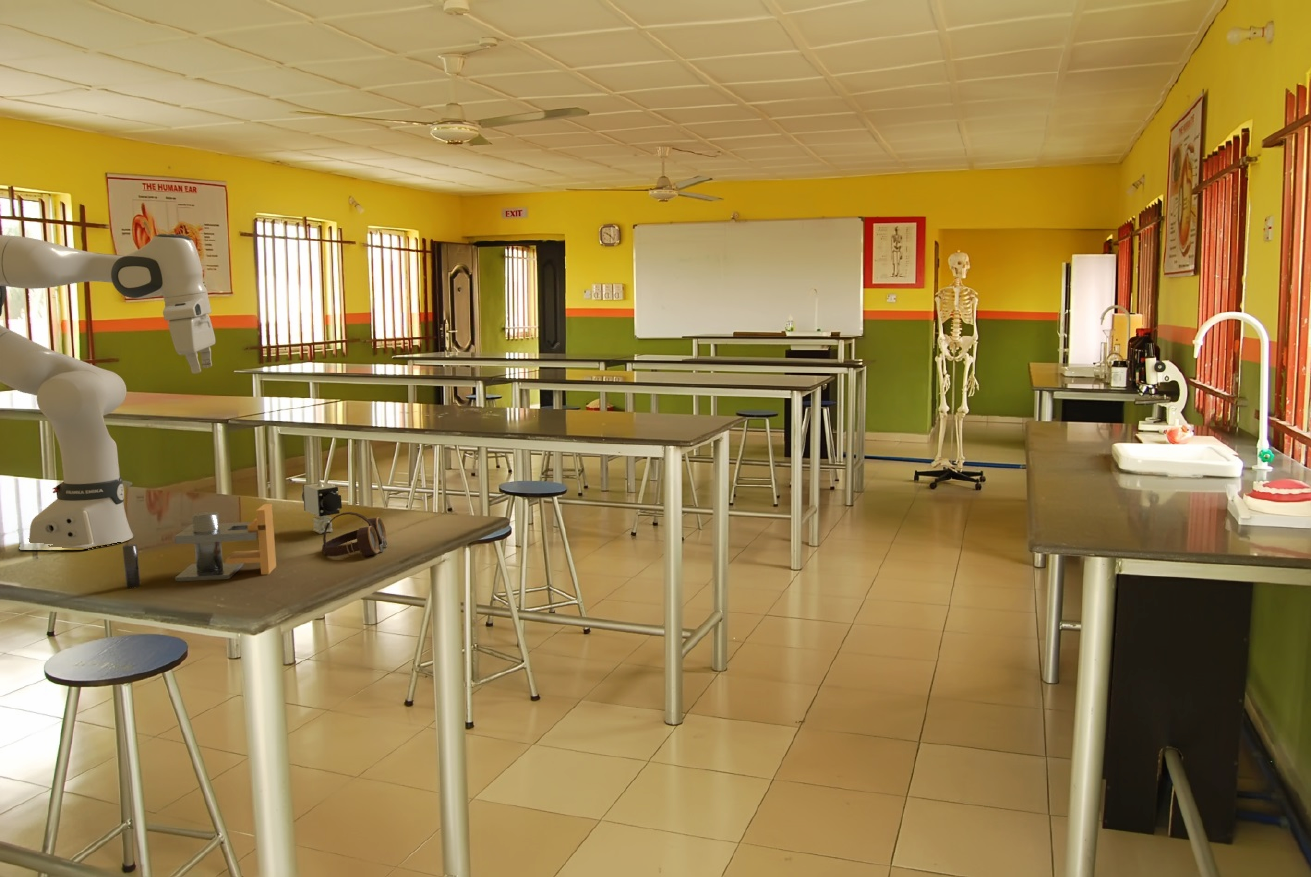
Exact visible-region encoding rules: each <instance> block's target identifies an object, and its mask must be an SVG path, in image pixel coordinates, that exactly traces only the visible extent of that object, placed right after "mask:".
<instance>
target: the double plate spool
mask: <svg viewBox="0 0 1311 877" xmlns="http://www.w3.org/2000/svg"><path fill="white" fill-rule="evenodd" d="M191 516H192V524H190V525H188V526H187V527H186V528H184V529H183V530H181V531H180V532H178V533H177V534H176V535H174V536H173V537H174V538H173V539H174V544H175V545H176V544H178V545H179V544H194V549H195V550H194V551H195V552H194V553H195V554H194V555H195V563H190V565H189V566H187V567H186V568H185V569H184V570H183V571H180V573H178V575H177V576H174V578H175V579H174V580H175V582H191V581H192V582H193V581H195V582H197V581H211V580H212V581H213V580H230V579H231V578H232V577H233V576H234V575H235V574H236V573H237V572H239V570H240V569H241V568H242V567H243V566H244V563H236V564H226V561H225V562H224V561H223V549H222V543H224V542H245V541H257V539H258V540H259V538H258V530H254V531H248V525H249V524H250V523H251V522H252V521H247V522H246V521H245V522H243V521H242V522H222V523H220V513H219V512H218V511H204V512H202V511H201V512H197V513H194V514H192V515H191Z"/></svg>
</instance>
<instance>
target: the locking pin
mask: <svg viewBox="0 0 1311 877" xmlns="http://www.w3.org/2000/svg"><path fill="white" fill-rule="evenodd" d="M122 554H123V564H124V566H123V567H124V575H125V576H124V577H125V585H126V587H129V588H128V589H135V588H134V587H136V588H139V587H141V575H140V566H139V554H138V545H137V544H135V543H129V544H124V545H122ZM130 587H131V588H130ZM132 587H133V588H132Z"/></svg>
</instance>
